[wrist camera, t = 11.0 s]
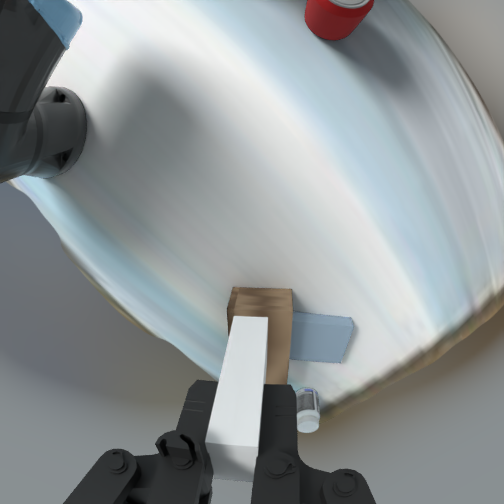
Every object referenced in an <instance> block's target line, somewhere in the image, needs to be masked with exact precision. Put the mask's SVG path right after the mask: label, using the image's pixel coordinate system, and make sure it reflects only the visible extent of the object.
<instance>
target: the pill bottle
mask: <svg viewBox="0 0 504 504" xmlns="http://www.w3.org/2000/svg"><path fill="white" fill-rule="evenodd" d="M296 397H297V429H298V430H299V431H300V432H303V433H310V432H313V431H316V430H317V429H318V427H319V419H320V411H319V401H318V393H317V391H316V390H314V389H312V388H302V389H300V390H298V391H297V392H296Z"/></svg>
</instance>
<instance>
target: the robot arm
mask: <svg viewBox="0 0 504 504" xmlns="http://www.w3.org/2000/svg"><path fill="white" fill-rule="evenodd" d="M81 24H82V13H81V12H80V10H79V9H78V8H76V7H75V6H74V5H72V4H71V3H70V2H68V1H67V0H0V183H3V182H5V181H8V180H10V179H13V178H16V177H18V176H22V175H27V176H33V177H40V178H50V177H54V176H57V175H60V174H62V173H64V172H66V171H67V170H68V169H70V168H71V167H72V166H73V165H74V163H75V162H76V161H77V159H78V157H79V156H80V154H81V151H82V149H83V146H84V142H85V137H86V116H85V111H84V108H83V105H82V103H81V101H80V99H79V98H78V97H77V95H76V94H75V93H74V92H72V91H71V90H69V89H67V88H64V87H45V86H46V84H47V82H48V80H49V78H50V77H51V75H52V73H53V71H54V69H55V68H56V66H57V64H58V62H59V61H60V59H61V57H62V56H63V54H64V52H65V51H66V50H68V49H69V44H70V42H71V41H72V39H73V37H74V36H75V34H76V32H77V31H78V29H79V28H80V26H81ZM267 338H268V317H248V316H234V317H233V322H232V326H231V330H230V335H229V339H228V343H227V348H226V352H225V357H224V361H223V365H222V370H221V374H220V378H219V382H215V381H204V380H197V381H196V382H195V383H194V384H193V385H192V386H191V387H190V388H189V390H188V393H187V396H186V401H185V403H184V406H183V410H182V412H181V415H180V418H179V422H178V425H177V428H176V430H174V431H170V432H167V433H164V434H163V435H162V436H160V437H159V438H158V440H157V442H156V443H155V445H156V447H157V449H158V451H159V453H158V454H154V455H143V456H133V455H132V454H131V453H129V452H128V451H126V450H123V449H112V450H109V451H107V452H105V453H104V454H103V455H102V456H101V457H100V458H99V459H98V461H97V462H96V463H95V465H94V466H93V467H92V469H91V470H90V471H89V472H88V473H87V474H86V476H85V477H84V478H83V479H82V481H81V482H80V483H79V484H78V486H77V487H76V488H75V489H74V491H73V492H72V493H71V494H70V496H69V497H68V498H67V499H66V501H65V502H64V503H63V504H210V503H211V497H212V486H211V484H212V479H213V475H214V478H215V479H223V480H233V481H246V482H253V488H252V497H251V504H376V503H375V500H374V498H373V495H372V494H371V491H370V489H369V486H368V484H367V482H366V480H365V479H364V477H363V476H362V475H361V474H360V473H358V472H357V471H355V470H351V469H339V470H336V471H334V472H332V473H329V472H324V471H321V470H317V469H313V468H311V467H309V466H307V465H306V464H305V463H304V462H303V461H302V460H301V459H300V457H299V455H298V450H297V397H296V393H295V391H294V390H293V388H292V386H291V385H284V384H265V382H266V367H267Z"/></svg>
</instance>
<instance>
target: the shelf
mask: <svg viewBox="0 0 504 504" xmlns="http://www.w3.org/2000/svg"><path fill="white" fill-rule="evenodd" d="M234 316H248V317H268V338H267V367H266V382H265V384H284V385H287V377H288V367H289V356H290V344H291V331H292V318H293V303H292V289H274V288H242V287H233V289H232V292H231V296H230V300H229V303H228V307H227V320H228V336H229V335H230V330H231V326H232V322H233V317H234Z"/></svg>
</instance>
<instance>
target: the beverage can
mask: <svg viewBox="0 0 504 504" xmlns="http://www.w3.org/2000/svg"><path fill="white" fill-rule="evenodd" d="M373 3H374V0H307V5H306V10H305V22H306V24H307V26H308V28H309V29H310V30H311V31H312V32H313V33H314V34H316V35H317V36H319V37H321V38H324V39H327V40H340V39H343V38H345V37H347V36H348V35H349V34H350V33H351V32H352V31H353V30H354V29H355V28H356V27H357V25H358V24H359V23H360V22H361V21H362V20H363V18H364V17H365V16H366V15H367V13H368V12H369V11H370V10H371V8H372V6H373Z"/></svg>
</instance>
